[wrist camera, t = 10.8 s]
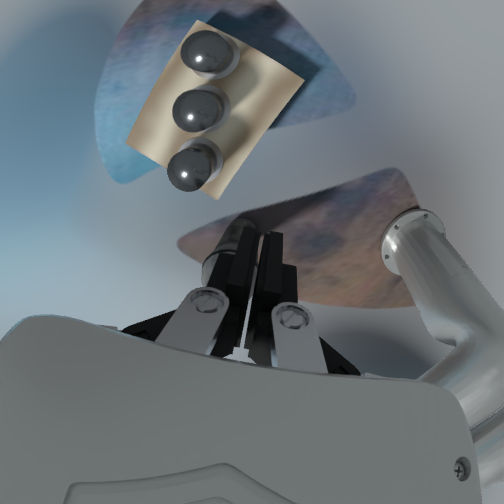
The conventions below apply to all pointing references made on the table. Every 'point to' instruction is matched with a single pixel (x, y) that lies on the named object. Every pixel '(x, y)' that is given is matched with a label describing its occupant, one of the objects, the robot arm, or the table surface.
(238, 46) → the mount plate
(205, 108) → the knob mid
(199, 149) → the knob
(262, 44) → the table surface
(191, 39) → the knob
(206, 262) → the beverage cup
